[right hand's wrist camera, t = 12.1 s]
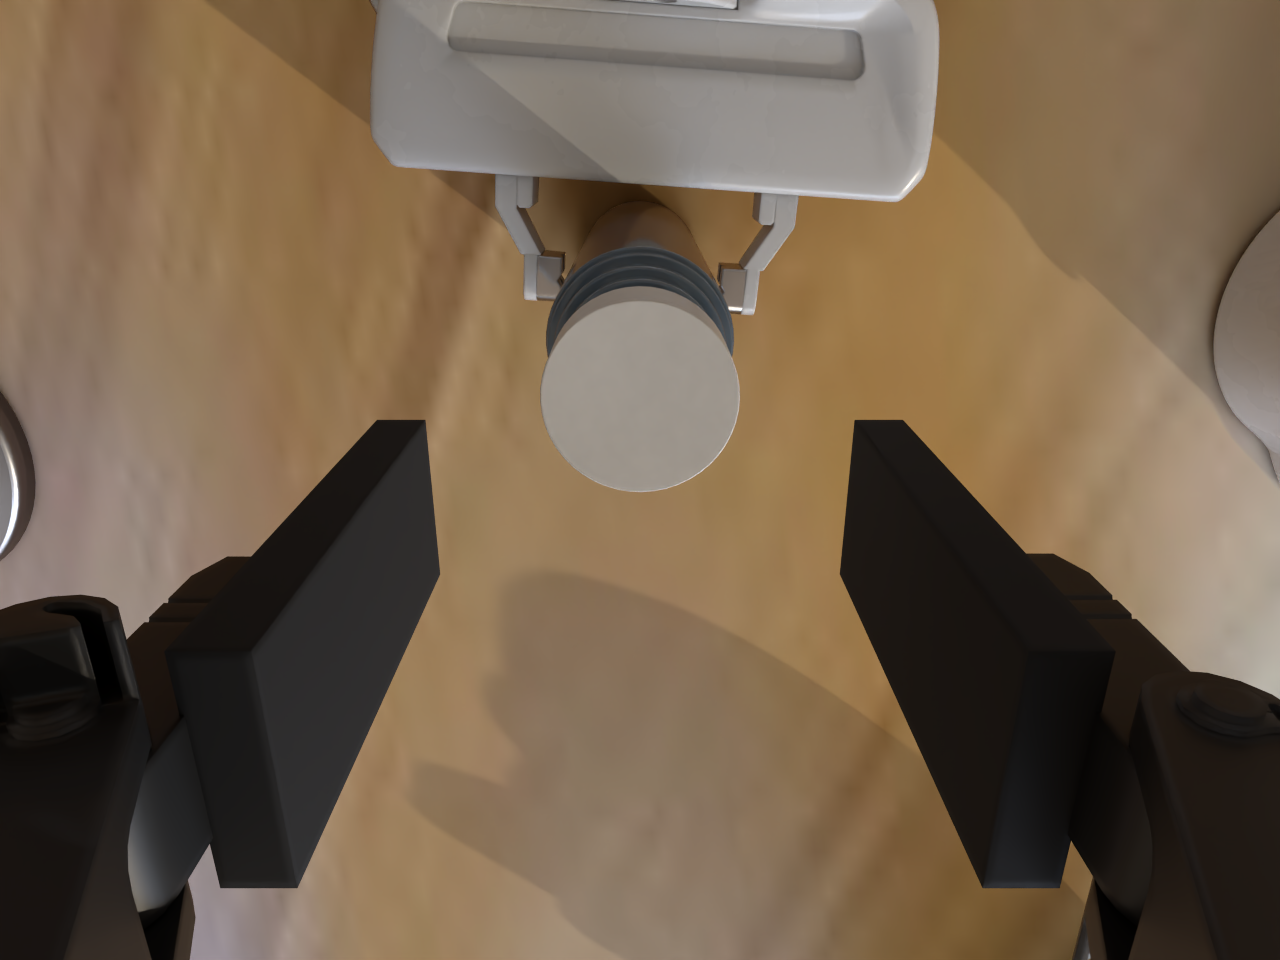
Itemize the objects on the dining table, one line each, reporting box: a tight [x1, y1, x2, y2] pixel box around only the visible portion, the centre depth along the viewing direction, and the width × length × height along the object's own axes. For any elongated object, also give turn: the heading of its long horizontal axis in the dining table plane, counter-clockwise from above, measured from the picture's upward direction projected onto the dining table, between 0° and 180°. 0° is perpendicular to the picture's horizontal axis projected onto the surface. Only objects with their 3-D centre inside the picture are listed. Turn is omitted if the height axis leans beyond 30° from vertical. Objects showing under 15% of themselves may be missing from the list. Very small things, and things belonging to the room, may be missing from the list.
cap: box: [540, 286, 740, 492], centre depth 20 cm, size 4×4×2 cm
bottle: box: [546, 201, 734, 357], centre depth 30 cm, size 5×5×23 cm
